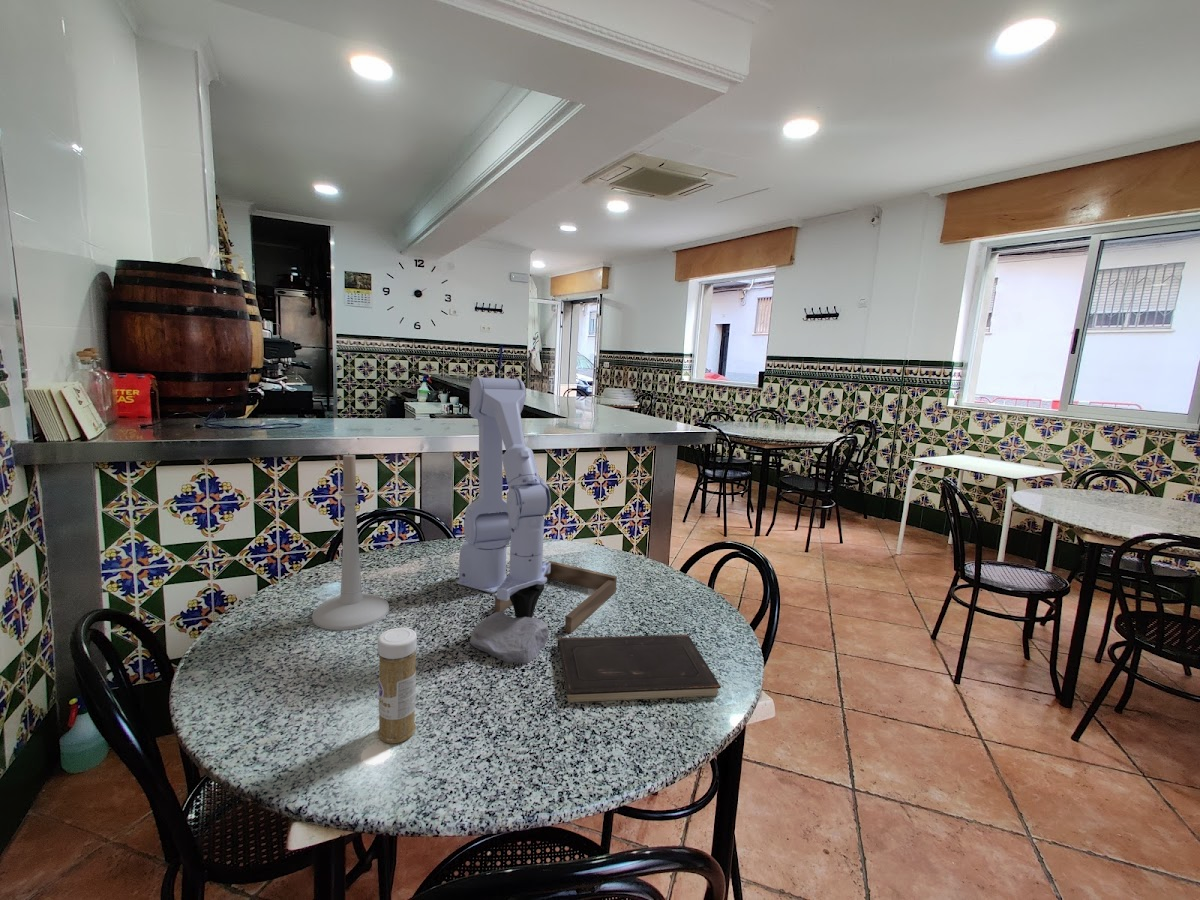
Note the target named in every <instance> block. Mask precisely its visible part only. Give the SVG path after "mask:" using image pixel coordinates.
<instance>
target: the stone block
mask: <svg viewBox="0 0 1200 900" xmlns="http://www.w3.org/2000/svg"><path fill="white" fill-rule="evenodd" d="M549 633H550V630H549V627H548V625H547V623H546V621H543V620H541V619H540V618H537V617H532V618H530V617H521V618H516V617H513V616H512V615H511V616H510V615H507V614H505V613H504V611H502V612H494V613H492V614H490V615H489V616H486V617H485V618H483V620H481V621H480V622H479V623H478V624H477V625H476V626H475V627H474V628H473V630H472V632H471V635H470V641H469V643H470V645H471V647H474V648H475V649H478V650H479V651H481V652H484V653H487V654H488V655H490V656H491V657H494V658H497V659H498V660H501V661H503V662H505V663H508V664H510V663H512V664H529V663H531V662H532V661H533V660H534V659H536V658H537V657H538V656H539V653H541V652H540V651H541V650H542V649H543V648H544V647H545V645H546V643H547V642H548V640H549Z"/></svg>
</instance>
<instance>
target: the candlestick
mask: <svg viewBox="0 0 1200 900" xmlns="http://www.w3.org/2000/svg"><path fill="white" fill-rule="evenodd" d="M356 468H357V467H356V454H350V452H348V454H343V455H342V470H343V471H342V476H343V477H342V478H343V483H342V484H343V487H342V488H343V490H341V491H339V492H338V495H340V496H341V503H342V504H343V506H344V512H343V525H342V526H343V527H342V528H343V530H342V531H343V533H342V556H341V558H342V559H341V577H340V578H341V579H340V582H341V584H340V595H337V596H334V597H331V598H330V599H328V600H326V601H325V600H324V602H322V603H321V604H320V605H318V606H317V607H316V608H315V609H314V610H313V612H312V617H311V618H312V623H313V624H314V625H315V626H317V627H318V628H321V629H324V630H331V631H347V630H348V631H349V630H355V629H360V628H365V627H368V626H370V625H373V624H375V623H378V622H379V621H381V620H383V619H384V618H385V617H387V615H388V613H389V611H390V605H389V603H388V601H387V600H386V599H384V598H383V597H381V596H379V595H376V594H372V593H366V592H363V591H362V589H363V587H362V577H361V562H360V550H359V549H360V548H359V547H360V546H359V535H358V522H357V519H358V518H357V511H356V504H357V503H358V502H359V498H358V496H359V495H360V494H361V493H362V491H360V490H357V485H356V483H357V481H356V480H357V479H356V478H357V477H356Z"/></svg>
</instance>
